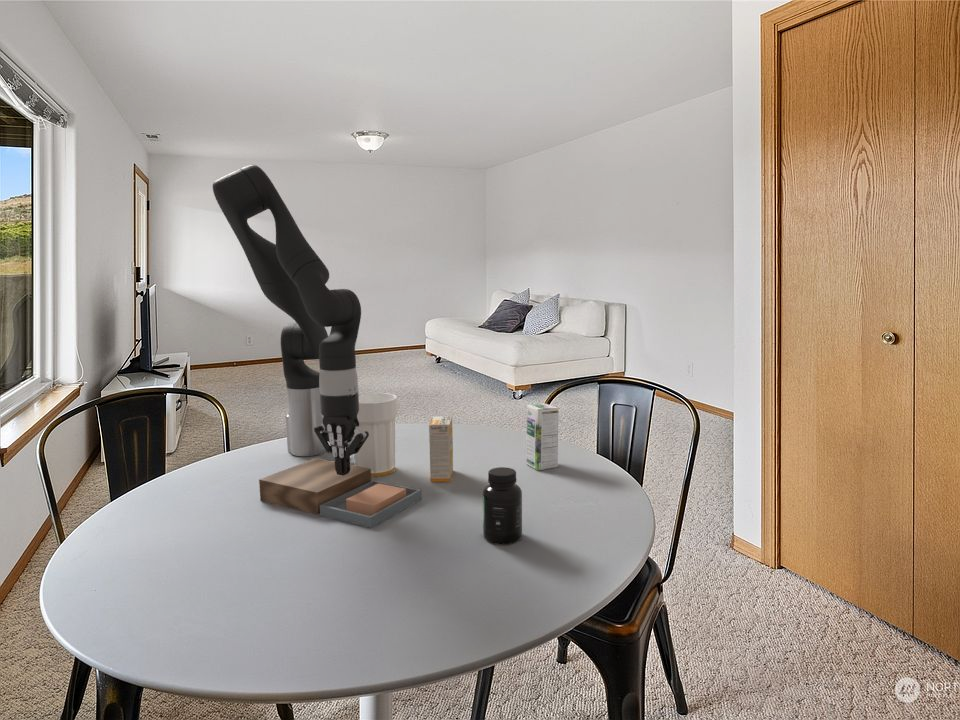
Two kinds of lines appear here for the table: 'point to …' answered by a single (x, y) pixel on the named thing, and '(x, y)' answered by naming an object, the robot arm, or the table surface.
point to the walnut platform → (310, 485)
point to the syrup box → (542, 436)
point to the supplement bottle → (502, 507)
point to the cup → (377, 433)
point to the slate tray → (339, 512)
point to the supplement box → (441, 449)
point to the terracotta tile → (374, 499)
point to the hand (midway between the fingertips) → (343, 473)
